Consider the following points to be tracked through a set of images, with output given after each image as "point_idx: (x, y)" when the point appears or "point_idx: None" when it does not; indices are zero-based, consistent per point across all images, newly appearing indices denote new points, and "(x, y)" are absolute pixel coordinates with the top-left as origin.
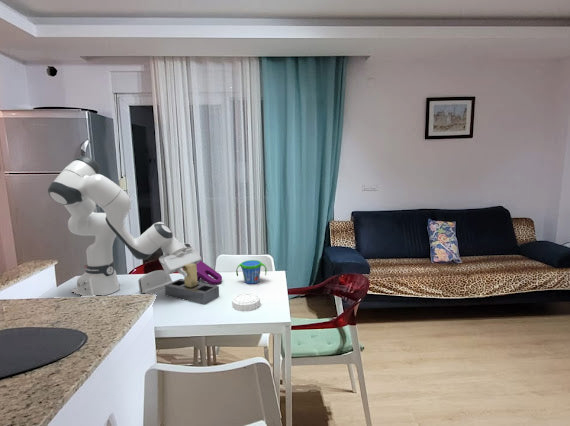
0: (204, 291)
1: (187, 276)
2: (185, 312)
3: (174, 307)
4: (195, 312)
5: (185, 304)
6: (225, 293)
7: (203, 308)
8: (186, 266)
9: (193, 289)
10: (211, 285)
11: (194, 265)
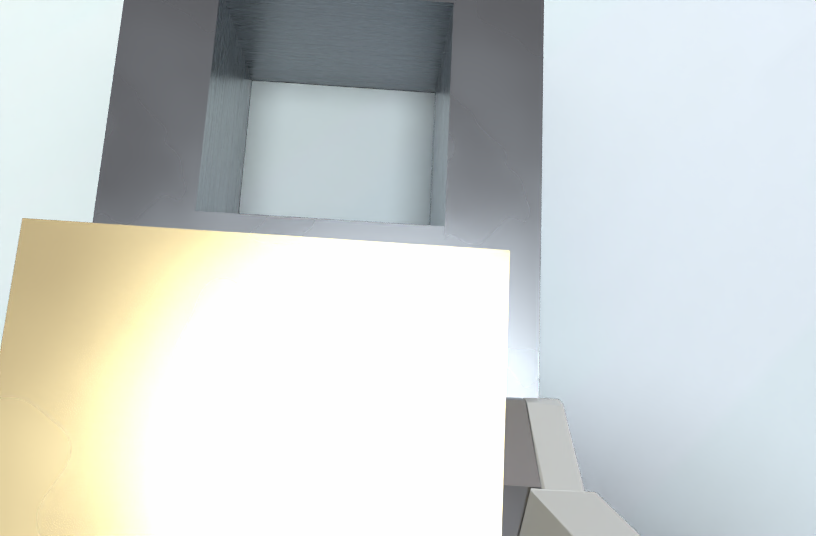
0: (455, 20)
1: None
2: (812, 140)
3: (775, 397)
4: (748, 25)
5: (622, 318)
6: (39, 23)
7: (609, 5)
8: (492, 523)
9: None
10: (143, 79)
11: (184, 234)
